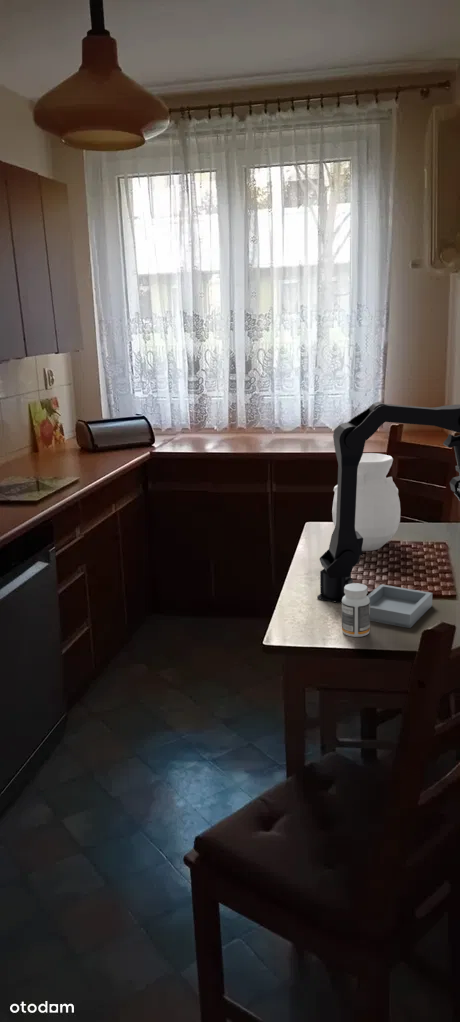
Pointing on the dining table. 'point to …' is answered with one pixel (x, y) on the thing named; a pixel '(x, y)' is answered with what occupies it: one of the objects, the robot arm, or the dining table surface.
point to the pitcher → (374, 501)
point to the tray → (398, 605)
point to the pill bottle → (355, 610)
